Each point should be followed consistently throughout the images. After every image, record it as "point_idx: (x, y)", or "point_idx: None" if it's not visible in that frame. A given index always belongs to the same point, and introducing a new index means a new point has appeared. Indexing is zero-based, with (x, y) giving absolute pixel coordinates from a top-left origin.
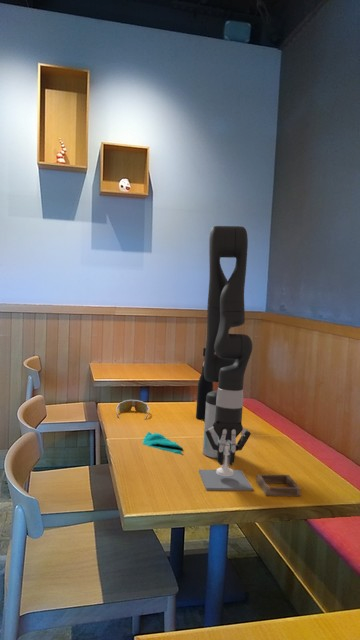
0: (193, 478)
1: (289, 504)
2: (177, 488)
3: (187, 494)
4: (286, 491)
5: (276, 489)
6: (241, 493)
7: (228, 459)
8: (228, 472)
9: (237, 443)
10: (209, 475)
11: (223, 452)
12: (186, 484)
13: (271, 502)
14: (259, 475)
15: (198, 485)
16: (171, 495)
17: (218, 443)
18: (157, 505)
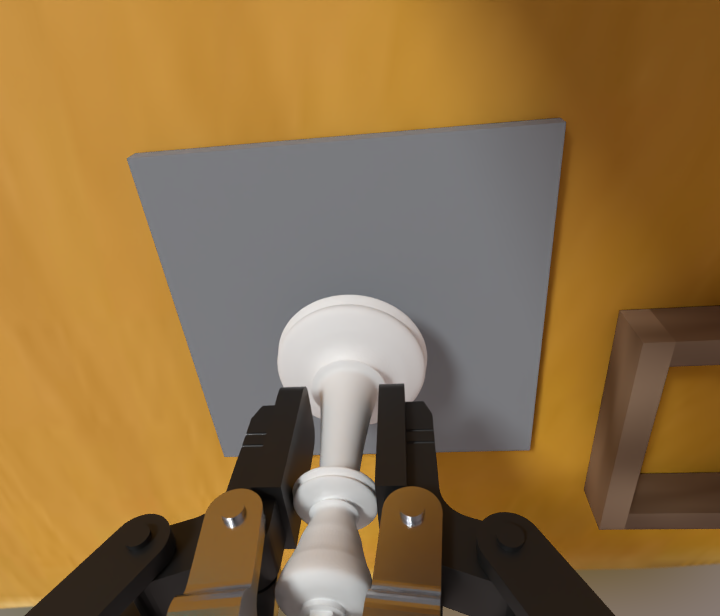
0: (121, 297)
1: (669, 554)
2: (60, 434)
3: (133, 488)
4: None
5: (664, 524)
6: (439, 469)
7: (378, 406)
8: (372, 420)
9: (500, 591)
10: (236, 280)
11: (301, 504)
12: (97, 387)
13: (578, 541)
14: (658, 358)
15: (175, 394)
16: (56, 498)
17: (201, 585)
18: (29, 566)
